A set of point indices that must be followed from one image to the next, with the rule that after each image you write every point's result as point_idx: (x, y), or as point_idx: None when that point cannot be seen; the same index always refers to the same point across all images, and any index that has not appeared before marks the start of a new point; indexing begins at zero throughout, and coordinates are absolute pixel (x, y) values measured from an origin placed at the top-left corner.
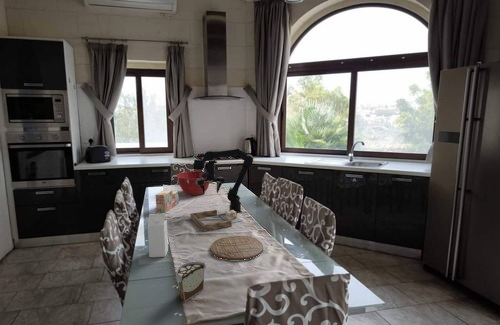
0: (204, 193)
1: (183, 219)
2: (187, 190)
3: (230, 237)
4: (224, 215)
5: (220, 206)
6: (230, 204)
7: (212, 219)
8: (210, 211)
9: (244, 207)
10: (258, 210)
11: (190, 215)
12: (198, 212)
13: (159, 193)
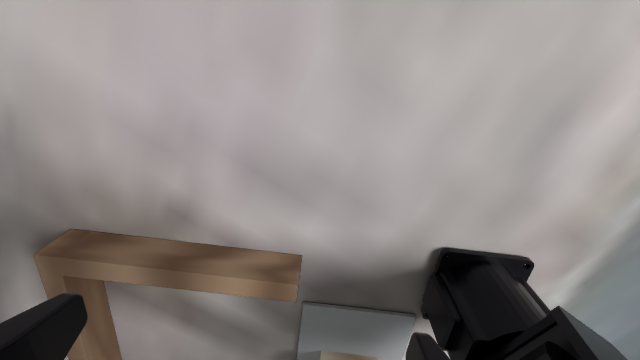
0: (64, 354)
1: (11, 221)
2: None
3: None
4: (335, 320)
5: (480, 62)
6: (460, 331)
7: (226, 326)
8: (230, 292)
9: (629, 240)
10: (625, 350)
11: (49, 246)
12: (114, 267)
13: None
